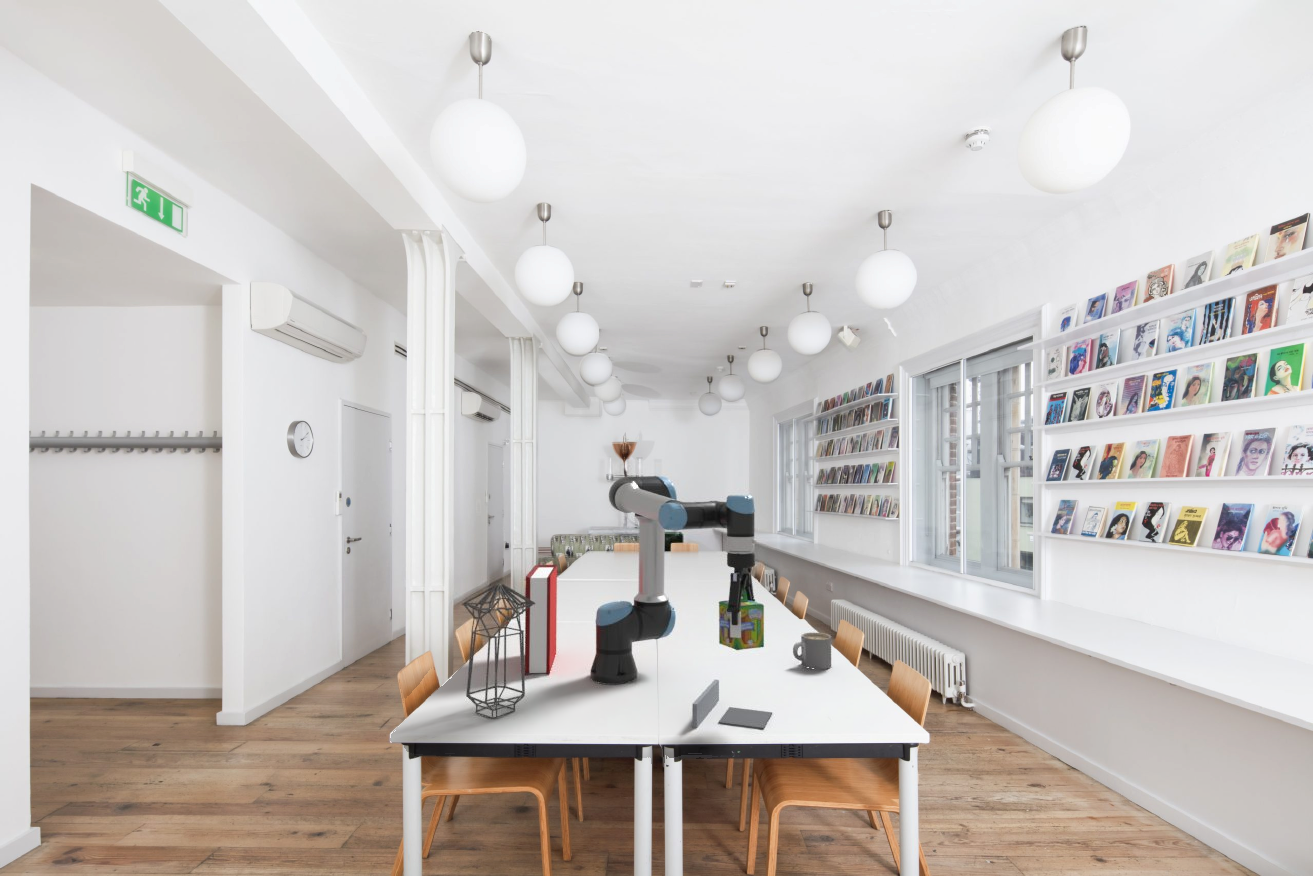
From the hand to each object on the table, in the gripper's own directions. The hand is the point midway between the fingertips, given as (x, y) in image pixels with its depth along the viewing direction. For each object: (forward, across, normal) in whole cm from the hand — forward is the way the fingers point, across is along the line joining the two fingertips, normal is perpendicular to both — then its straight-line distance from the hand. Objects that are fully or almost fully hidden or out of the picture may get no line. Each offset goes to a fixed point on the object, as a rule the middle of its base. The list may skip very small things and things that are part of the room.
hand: (741, 632), depth 182 cm
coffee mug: (+23, +58, -10) cm, 63 cm away
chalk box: (+4, 0, 0) cm, 4 cm away
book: (+23, +27, +78) cm, 85 cm away
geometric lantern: (+23, -18, +65) cm, 71 cm away
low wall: (+23, 0, +10) cm, 25 cm away
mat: (+23, 0, -1) cm, 23 cm away
